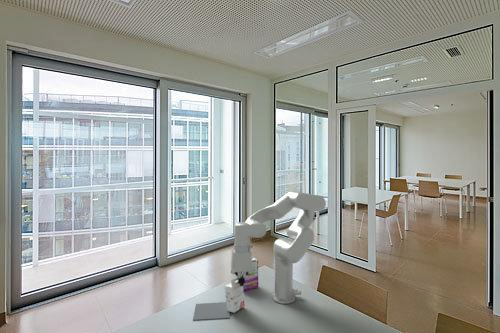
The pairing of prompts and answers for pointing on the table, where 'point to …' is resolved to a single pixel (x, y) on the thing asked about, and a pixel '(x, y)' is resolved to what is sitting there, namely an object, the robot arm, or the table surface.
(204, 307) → the mat
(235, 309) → the ink cartridge box
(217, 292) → the table surface
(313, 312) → the table surface
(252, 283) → the candy bar box
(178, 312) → the table surface
